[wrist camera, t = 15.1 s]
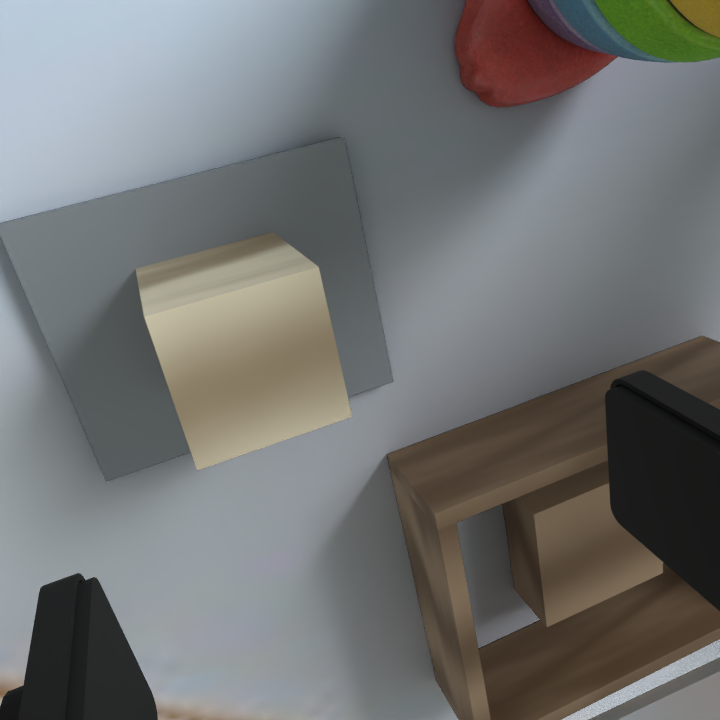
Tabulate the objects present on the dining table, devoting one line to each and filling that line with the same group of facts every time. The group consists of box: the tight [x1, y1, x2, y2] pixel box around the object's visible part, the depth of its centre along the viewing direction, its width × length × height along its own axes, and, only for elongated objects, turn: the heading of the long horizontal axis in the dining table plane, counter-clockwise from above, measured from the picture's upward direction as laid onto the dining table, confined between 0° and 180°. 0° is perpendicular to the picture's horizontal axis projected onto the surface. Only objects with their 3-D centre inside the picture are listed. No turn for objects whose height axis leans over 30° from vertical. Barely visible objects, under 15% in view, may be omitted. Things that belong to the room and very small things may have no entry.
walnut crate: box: [387, 336, 720, 720], centre depth 33 cm, size 15×18×5 cm
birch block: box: [135, 232, 352, 470], centre depth 22 cm, size 5×5×6 cm
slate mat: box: [0, 137, 393, 482], centre depth 25 cm, size 10×12×1 cm
